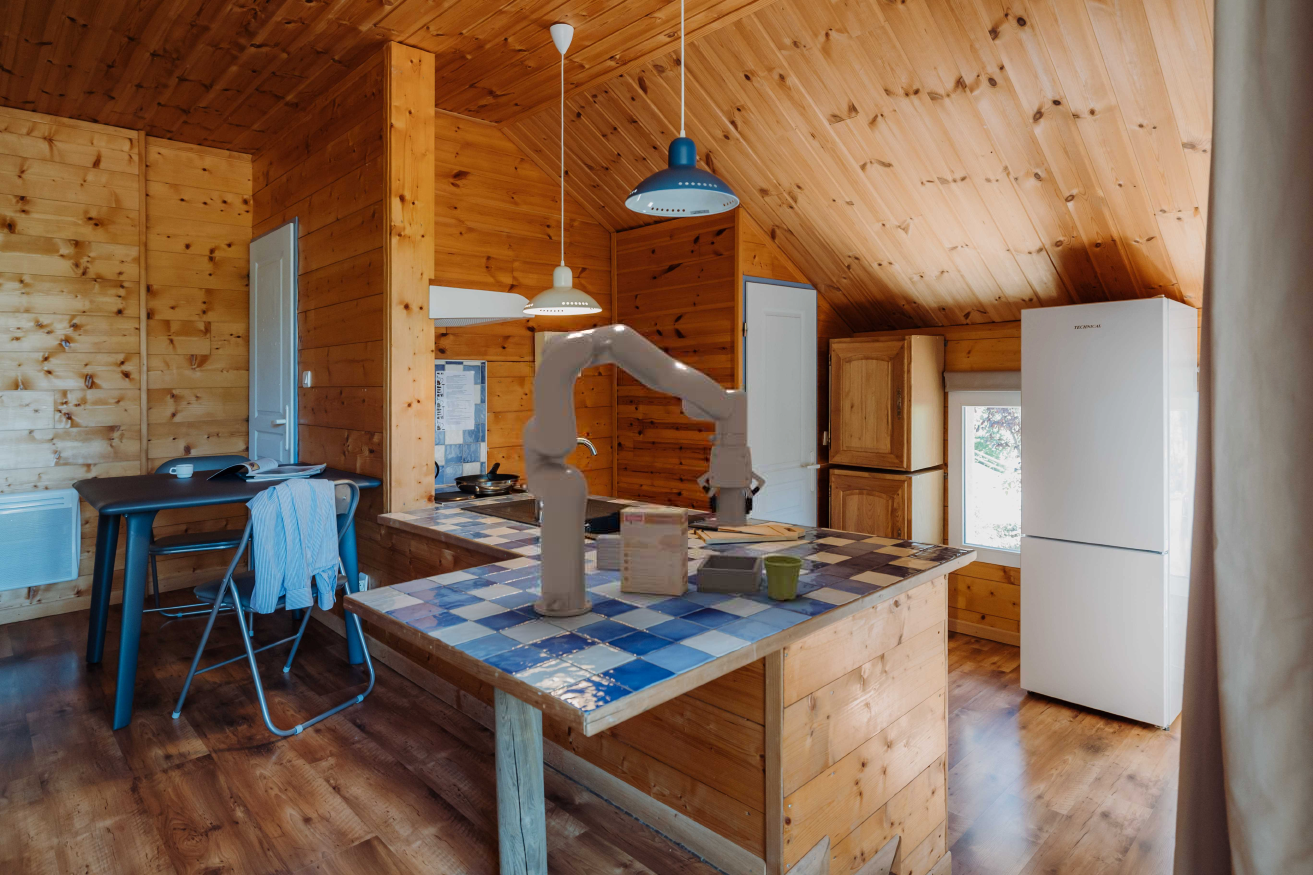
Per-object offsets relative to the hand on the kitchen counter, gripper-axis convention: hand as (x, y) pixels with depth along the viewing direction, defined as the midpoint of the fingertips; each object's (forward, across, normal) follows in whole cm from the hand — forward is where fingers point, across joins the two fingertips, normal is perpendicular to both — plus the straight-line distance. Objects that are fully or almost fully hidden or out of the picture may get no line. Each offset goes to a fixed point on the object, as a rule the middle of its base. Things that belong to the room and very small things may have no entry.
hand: (730, 512), depth 181 cm
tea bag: (+3, 0, 0) cm, 3 cm away
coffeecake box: (+18, -17, -9) cm, 26 cm away
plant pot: (+18, +13, -8) cm, 24 cm away
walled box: (+18, 0, 0) cm, 18 cm away
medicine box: (+18, -33, +10) cm, 39 cm away
